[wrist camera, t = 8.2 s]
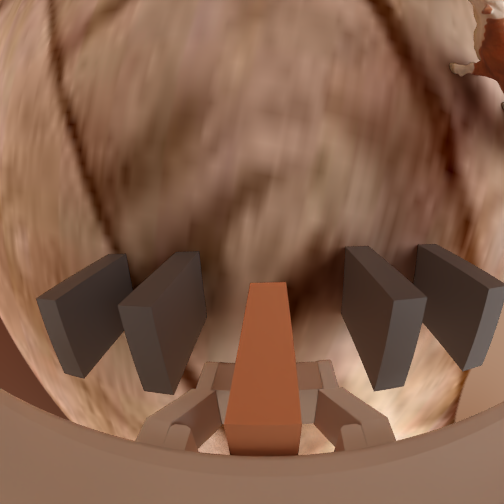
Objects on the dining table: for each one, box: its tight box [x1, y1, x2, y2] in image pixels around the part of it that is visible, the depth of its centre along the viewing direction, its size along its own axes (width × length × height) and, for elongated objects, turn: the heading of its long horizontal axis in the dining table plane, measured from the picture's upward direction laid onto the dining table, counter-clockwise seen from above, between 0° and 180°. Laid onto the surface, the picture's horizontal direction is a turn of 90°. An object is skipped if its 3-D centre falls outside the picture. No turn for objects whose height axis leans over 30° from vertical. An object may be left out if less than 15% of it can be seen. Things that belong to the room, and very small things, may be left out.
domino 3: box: [224, 282, 302, 456], centre depth 9 cm, size 2×5×8 cm, turn 3°
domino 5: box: [413, 244, 504, 371], centre depth 14 cm, size 2×5×8 cm, turn 3°
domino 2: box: [118, 251, 207, 395], centre depth 15 cm, size 2×5×8 cm, turn 3°
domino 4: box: [341, 246, 427, 391], centre depth 14 cm, size 2×5×8 cm, turn 3°
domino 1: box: [36, 254, 133, 378], centre depth 15 cm, size 2×5×8 cm, turn 3°
